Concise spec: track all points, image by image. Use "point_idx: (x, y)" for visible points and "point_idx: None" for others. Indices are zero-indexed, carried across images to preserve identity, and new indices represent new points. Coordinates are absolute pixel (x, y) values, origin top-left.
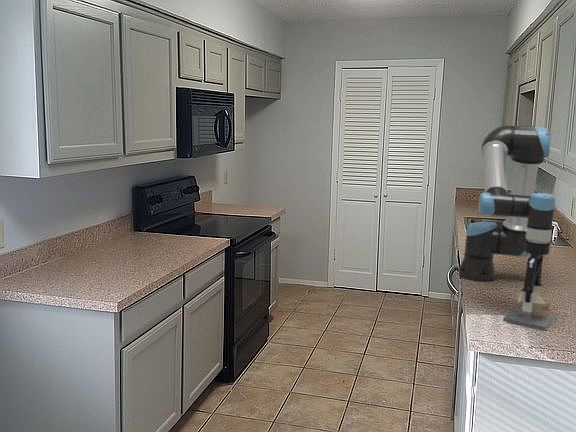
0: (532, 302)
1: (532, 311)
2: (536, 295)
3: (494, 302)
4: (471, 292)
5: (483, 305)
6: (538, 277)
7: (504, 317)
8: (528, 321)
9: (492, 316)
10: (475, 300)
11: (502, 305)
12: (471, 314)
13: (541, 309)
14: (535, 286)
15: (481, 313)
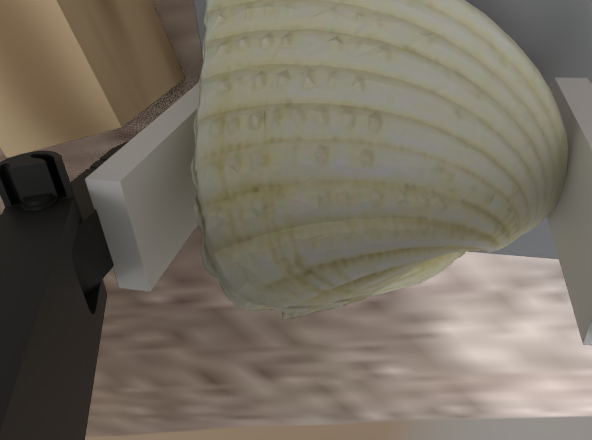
0: (586, 129)
1: (173, 86)
2: (416, 136)
3: (146, 322)
4: (88, 420)
5: (260, 366)
6: (39, 323)
7: (540, 254)
8: (542, 59)
9: (464, 310)
10: (203, 401)
11: (162, 280)
12: (507, 409)
13: (124, 19)
14: (133, 226)
15: (441, 367)
